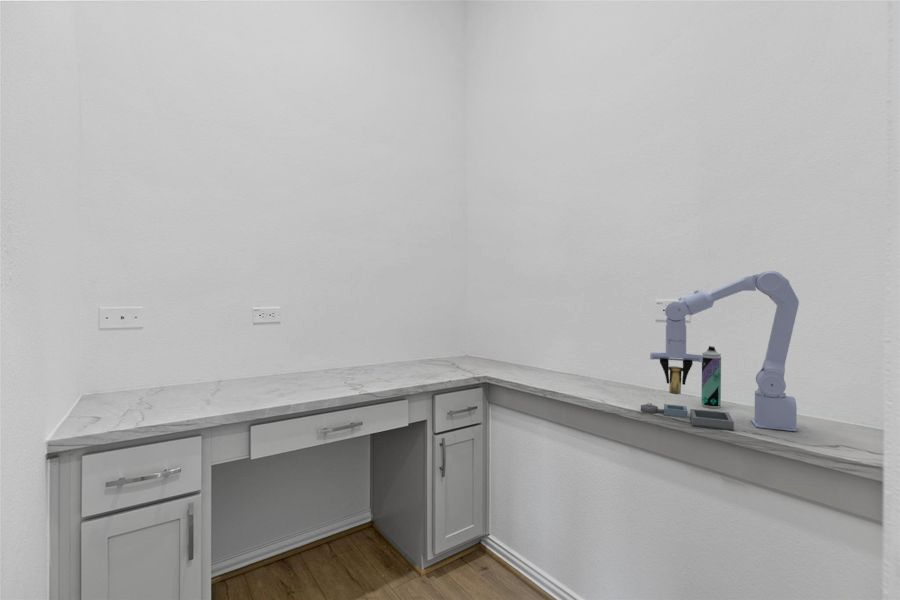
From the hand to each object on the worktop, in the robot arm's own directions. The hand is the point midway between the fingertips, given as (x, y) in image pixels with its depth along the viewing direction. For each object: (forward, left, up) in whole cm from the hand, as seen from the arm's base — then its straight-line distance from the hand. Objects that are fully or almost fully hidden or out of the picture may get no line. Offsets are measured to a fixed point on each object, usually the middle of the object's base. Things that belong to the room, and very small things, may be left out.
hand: (675, 383), depth 140 cm
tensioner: (+3, 0, -10) cm, 10 cm away
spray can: (-11, -15, -10) cm, 21 cm away
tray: (-9, +7, -10) cm, 15 cm away
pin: (0, 0, -3) cm, 3 cm away
